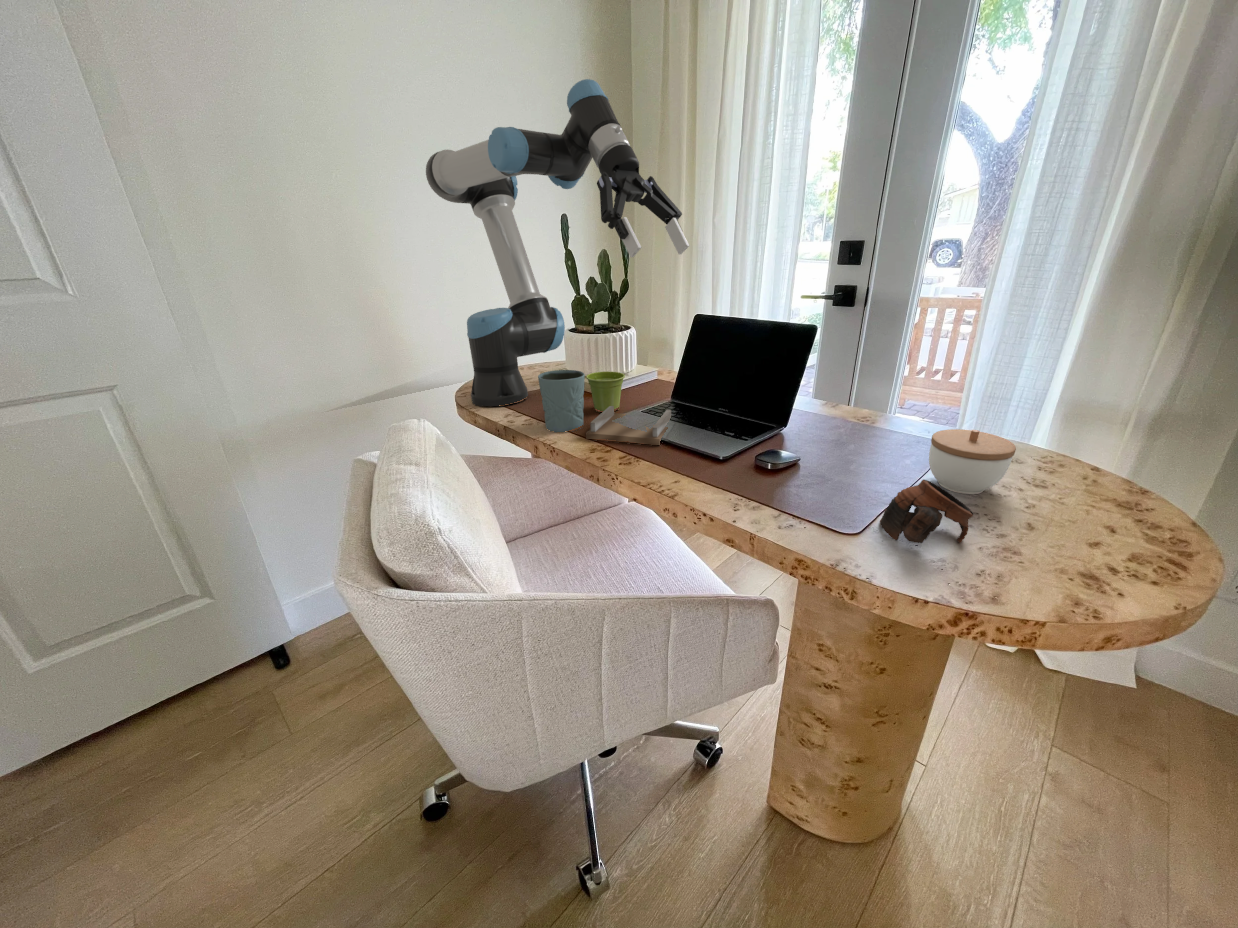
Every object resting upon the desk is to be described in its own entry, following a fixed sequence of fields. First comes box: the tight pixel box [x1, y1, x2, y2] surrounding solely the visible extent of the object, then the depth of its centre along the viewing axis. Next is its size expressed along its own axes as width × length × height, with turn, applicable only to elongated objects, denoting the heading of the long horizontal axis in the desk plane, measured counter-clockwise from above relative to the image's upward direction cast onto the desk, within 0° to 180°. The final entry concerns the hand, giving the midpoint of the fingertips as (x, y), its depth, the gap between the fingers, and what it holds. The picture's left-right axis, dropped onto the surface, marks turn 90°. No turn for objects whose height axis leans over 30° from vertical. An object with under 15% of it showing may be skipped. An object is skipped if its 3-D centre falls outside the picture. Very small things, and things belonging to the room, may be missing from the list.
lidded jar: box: [928, 428, 1017, 495], centre depth 77 cm, size 11×11×9 cm
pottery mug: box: [879, 479, 975, 544], centre depth 64 cm, size 12×10×8 cm
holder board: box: [585, 406, 672, 446], centre depth 106 cm, size 16×14×4 cm
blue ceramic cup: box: [537, 369, 586, 433], centre depth 110 cm, size 10×10×12 cm
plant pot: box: [585, 370, 626, 411], centre depth 120 cm, size 9×9×9 cm
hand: (661, 251), depth 95 cm, fingers open, 13 cm apart
